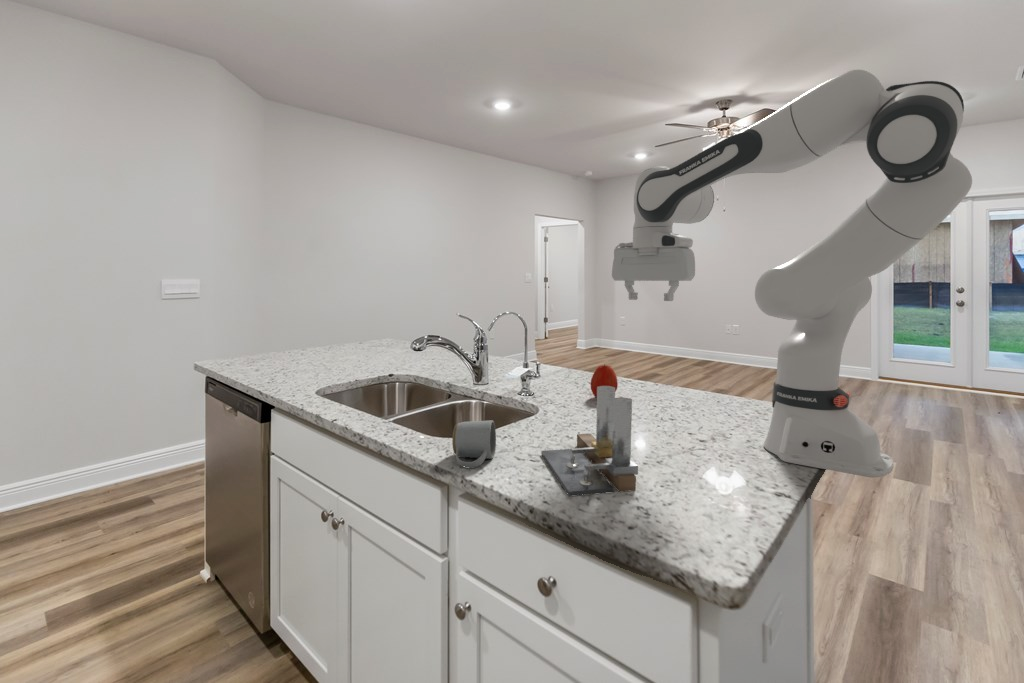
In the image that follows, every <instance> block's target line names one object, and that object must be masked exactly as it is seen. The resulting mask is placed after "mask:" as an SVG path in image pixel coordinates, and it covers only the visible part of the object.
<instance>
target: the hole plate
mask: <svg viewBox="0 0 1024 683" xmlns="http://www.w3.org/2000/svg"><path fill="white" fill-rule="evenodd" d="M571 449H572V448H562V449H561V448H560V449H552V450H551V449H549V450H548V449H547V450H540V451H541V454H542V455H541V456H542V458H543V457H544V458H543V459H544V461H545V460H546V461H545V462H546V463H547V465H548V467H549V468H550V470H551V471H552V472H553V474H554V476H555V477H556V479H557V478H558V479H557V480H558V482H559V481H560V482H559V483H560V485H561V484H562V485H561V486H562V488H563V487H564V488H563V489H564V491H565V490H566V491H565V492H566V494H567V493H568V494H567V495H568V497H571V496H570V495H577V496H585V495H584V494H589V495H596V494H595V493H600V494H607V493H606V492H612V493H615V487H614V485H613V484H612V483H611V482H610V481H609V480H608V479H607V478H606V477H605V476H604V474H603V473H602V472H601V471H600V470H599V469H596V470H588V481H584V465H588V464H593V462H592V461H591V460H590V459H589V458H588V457H587V456H586V455H585V454H584V453H575V464H571ZM582 494H583V495H582Z"/></svg>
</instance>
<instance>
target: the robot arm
mask: <svg viewBox="0 0 1024 683" xmlns="http://www.w3.org/2000/svg"><path fill="white" fill-rule="evenodd" d="M964 109H965V105H964V99H963V97H962V95H961V93H960V91H959V90H958V89H956V88H955V87H954V86H952V85H951V84H949V83H946V82H944V81H943V82H942V81H937V80H924V81H917V82H910V83H901V84H894V85H890V86H889V87H887V88H884V86H883V84H882V83H881V82H880V80H879V79H878V77H876V76H875V75H874V74H873V73H871V72H870V71H867V70H864V69H852V70H851V69H850V70H849V71H847V72H843V73H841V74H839V75H837V76H835V77H833V78H831V79H828V80H826V81H824V82H823V83H821V84H818V85H817V86H815V87H813V88H811V89H810V90H808V91H806V92H805V93H803V94H801V95H800V96H799V97H796V98H795V99H793V100H791V101H790V102H788V103H787V104H785V105H783V106H782V107H781V108H779V109H778V110H776V111H775V112H773V113H771V114H769V115H768V116H766V117H765V118H763V119H761V120H759V121H758V122H756V123H754V124H752V125H750V126H749V127H748V126H747V127H746V128H744V129H742V130H741V131H739V132H736V133H734V134H733V135H731V136H728V137H726V138H724V139H723V140H721V141H719V142H717V143H714V144H713V145H712V146H710V147H708V148H706V149H705V150H702V151H701V152H699V153H698V154H695V155H694V156H692V157H691V158H689V159H686V160H685V161H683V162H682V163H680V164H678V165H676V166H674V167H672V168H670V167H668V166H656V167H650V168H647V169H645V170H643V171H642V172H641V173H640V174H638V176H637V178H636V182H635V185H634V186H635V187H634V193H633V194H634V195H633V213H634V223H633V227H632V242H631V241H630V242H626V243H625V242H620V243H618V245H617V246H615V248H614V251H613V262H612V270H611V278H612V279H613V281H615V282H617V281H619V282H620V281H623V282H624V287H625V289H626V291H627V292H628V300H630V301H636V300H638V297H639V296H638V295H639V294H638V293H639V292H637V291H635V289H634V287H633V286H635V281H636V282H638V281H639V282H641V281H642V282H643V281H644V282H645V281H647V282H648V281H649V282H650V281H651V282H653V281H655V282H656V281H657V282H659V281H661V282H666V281H667V282H668V286H669V289H668V291H667V292H665V293H663V297H664V298H663V301H664V302H665V301H666V302H672V301H674V297H675V296H674V294H675V292H676V291H677V289H678V288H679V284H680V282H683V281H684V282H689V281H692V280H693V279H694V278H695V276H696V260H695V259H696V258H695V253H694V251H693V250H692V249H691V248H692V247H693V242H694V240H693V239H692V238H691V237H688V236H685V235H684V236H683V235H681V234H679V233H673V224H690V225H692V224H696V223H700V222H702V221H703V220H705V219H707V217H708V216H709V215H710V213H711V212H712V209H713V207H714V203H715V193H714V189H713V187H712V185H714V184H716V183H717V182H720V181H722V180H725V179H726V178H729V177H733V176H737V175H744V174H745V175H746V174H783V173H787V172H791V171H792V170H795V169H798V168H802V167H803V166H806V165H808V164H810V163H812V162H814V161H816V160H817V159H820V158H822V157H823V156H825V155H827V154H829V153H831V152H832V151H834V150H835V149H837V148H839V147H841V146H844V145H846V144H849V143H852V142H859V141H863V142H866V150H867V153H868V155H869V157H870V159H872V162H874V164H876V166H877V167H878V168H879V169H880V170H881V172H882V173H883V174H884V176H885V177H886V178H885V180H884V181H883V182H882V183H881V185H879V186H878V187H877V188H876V190H874V191H873V192H872V193H871V194H870V195H869V196H868V197H867V198H866V199H865V200H864V201H863V202H862V203H861V204H860V205H859V206H858V207H857V208H856V209H855V210H854V211H853V212H851V213H850V215H849V216H847V217H846V218H845V220H844V221H842V222H841V223H840V224H839V225H838V226H837V227H835V229H834V230H833V231H830V233H828V234H827V235H825V236H824V237H823V238H822V239H821V240H819V241H817V242H816V243H814V244H813V245H812V246H810V247H808V248H807V249H805V250H804V251H802V252H801V253H799V254H798V255H795V256H794V257H792V258H791V259H790V260H788V261H786V262H784V263H782V264H780V265H777V266H776V267H773V268H770V269H768V270H766V271H765V272H764V273H762V274H761V275H760V276H759V278H758V280H757V281H756V285H755V289H754V300H755V302H756V305H757V307H758V308H759V309H760V311H761V312H762V313H764V314H765V315H767V316H770V317H774V318H777V319H782V320H787V321H793V320H795V324H794V325H793V326H794V327H793V328H792V331H790V333H789V335H788V336H787V337H786V338H785V339H784V340H783V341H782V342H781V343H780V345H779V347H778V350H777V364H776V379H775V380H776V381H775V382H773V388H772V393H771V394H772V395H771V403H772V409H773V410H772V415H771V420H770V424H769V428H768V431H767V435H766V437H765V440H764V441H763V447H764V448H765V450H767V451H768V452H770V453H772V454H774V455H776V456H777V457H778V458H779V459H780V460H781V461H783V462H785V463H788V464H789V463H790V464H795V465H801V466H804V467H805V466H806V467H811V468H816V469H822V470H827V471H833V472H839V473H845V474H849V475H854V476H855V475H856V476H860V477H865V478H873V479H874V478H881V477H885V476H887V475H889V474H890V473H891V472H892V471H893V469H894V460H893V458H892V457H891V456H890V455H888V454H886V453H882V452H881V442H880V439H879V435H878V433H877V431H876V430H875V429H874V428H873V427H872V426H871V425H869V424H868V423H867V422H866V421H865V420H863V419H862V418H861V417H859V415H857V414H856V413H854V412H853V411H852V410H851V409H849V405H850V395H851V393H850V392H849V391H848V392H846V391H844V390H843V389H841V388H840V387H839V378H840V370H841V361H842V354H843V348H844V345H845V342H846V339H847V336H848V335H849V334H848V333H849V331H850V330H851V327H852V324H853V322H854V321H855V319H856V317H857V315H858V314H859V312H860V311H862V309H864V307H866V306H867V305H868V304H869V302H870V299H871V297H872V294H873V293H872V292H873V285H872V282H871V279H870V277H873V276H875V275H878V274H880V273H882V272H884V271H885V270H887V269H888V268H889V267H890V266H892V265H893V264H894V263H895V262H897V261H898V260H899V259H900V258H902V257H903V256H904V255H905V254H906V253H907V252H909V251H910V250H911V249H912V248H914V247H915V246H916V245H917V244H918V243H919V242H921V241H922V240H923V239H925V238H926V237H927V236H928V235H929V234H930V233H932V232H933V230H935V229H936V228H937V227H938V226H939V225H940V224H941V223H942V222H943V221H944V220H945V219H946V218H947V217H948V216H949V215H950V214H951V213H952V212H953V211H954V210H955V209H956V208H957V206H959V204H960V203H961V202H962V201H963V200H964V198H965V197H966V196H967V195H968V194H969V192H970V190H971V188H972V185H973V177H972V174H971V171H970V170H969V168H968V166H966V165H965V164H964V163H963V162H962V161H961V160H959V159H958V158H956V157H954V156H953V154H952V153H951V150H952V148H953V145H954V144H955V143H954V142H955V141H956V138H957V136H958V134H959V131H960V129H961V127H962V124H963V119H964V112H965V110H964Z"/></svg>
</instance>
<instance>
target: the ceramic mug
mask: <svg viewBox="0 0 1024 683" xmlns="http://www.w3.org/2000/svg"><path fill="white" fill-rule="evenodd" d="M451 439H452V445H451V446H452V449H453V450H452V452H453V453H454V455H455V457H456V458H455V459H456V462H457V464H458V465H459V466H460V465H461V466H460V467H462V466H465V467H475V468H477V467H479V466H481V465H482V464H483V463H484V462H485V459H488V460H489V459H490V460H492V459H494V457H495V455H496V448H497V432H496V425H495V421H494V420H490V419H489V420H473V421H461V422H457V423H456V424H455V425H454V427H453V431H452V437H451ZM459 456H460V457H459ZM465 457H470V459H471V458H472V459H475V460H473V461H463V460H462V459H460V458H465Z"/></svg>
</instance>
